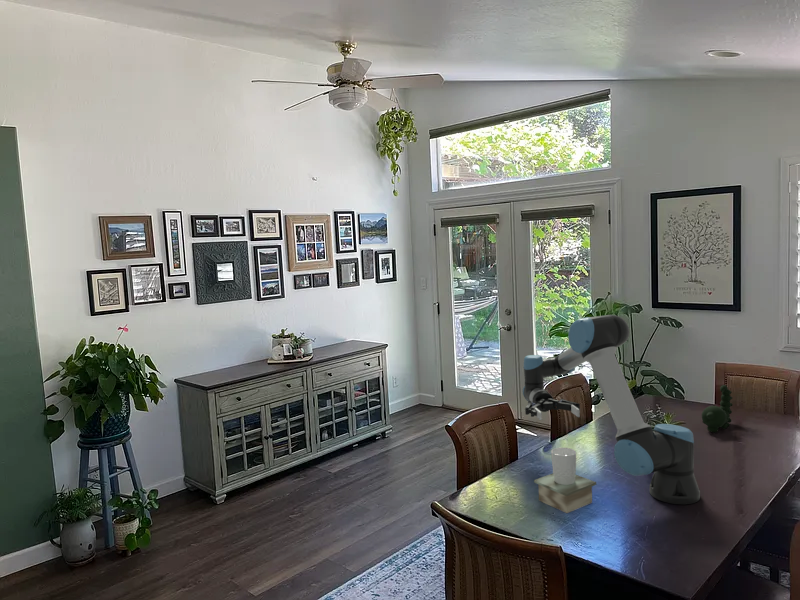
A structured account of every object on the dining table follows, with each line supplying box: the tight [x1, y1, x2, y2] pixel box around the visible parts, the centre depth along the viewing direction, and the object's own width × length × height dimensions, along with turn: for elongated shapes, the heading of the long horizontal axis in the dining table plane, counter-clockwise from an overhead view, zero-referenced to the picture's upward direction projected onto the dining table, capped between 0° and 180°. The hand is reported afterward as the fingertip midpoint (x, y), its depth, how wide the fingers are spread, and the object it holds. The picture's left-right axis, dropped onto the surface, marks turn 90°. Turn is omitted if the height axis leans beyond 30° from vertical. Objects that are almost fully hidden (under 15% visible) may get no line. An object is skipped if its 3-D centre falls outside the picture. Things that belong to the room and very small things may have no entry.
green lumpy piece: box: [701, 384, 733, 433], centre depth 256 cm, size 9×19×25 cm
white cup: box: [551, 447, 577, 485], centre depth 193 cm, size 8×8×10 cm
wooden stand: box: [533, 472, 597, 514], centre depth 193 cm, size 14×14×7 cm
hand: (559, 414), depth 207 cm, fingers open, 13 cm apart
